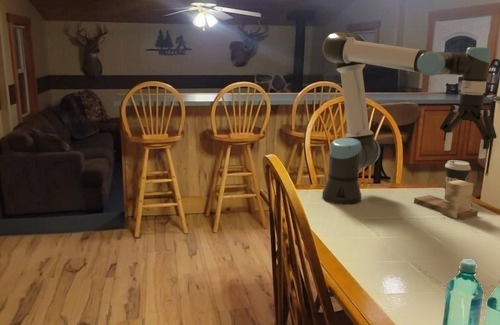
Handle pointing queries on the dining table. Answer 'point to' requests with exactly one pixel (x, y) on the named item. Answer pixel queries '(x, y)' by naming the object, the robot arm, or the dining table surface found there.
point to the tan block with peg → (457, 198)
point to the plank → (436, 205)
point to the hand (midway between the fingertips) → (463, 154)
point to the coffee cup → (457, 170)
